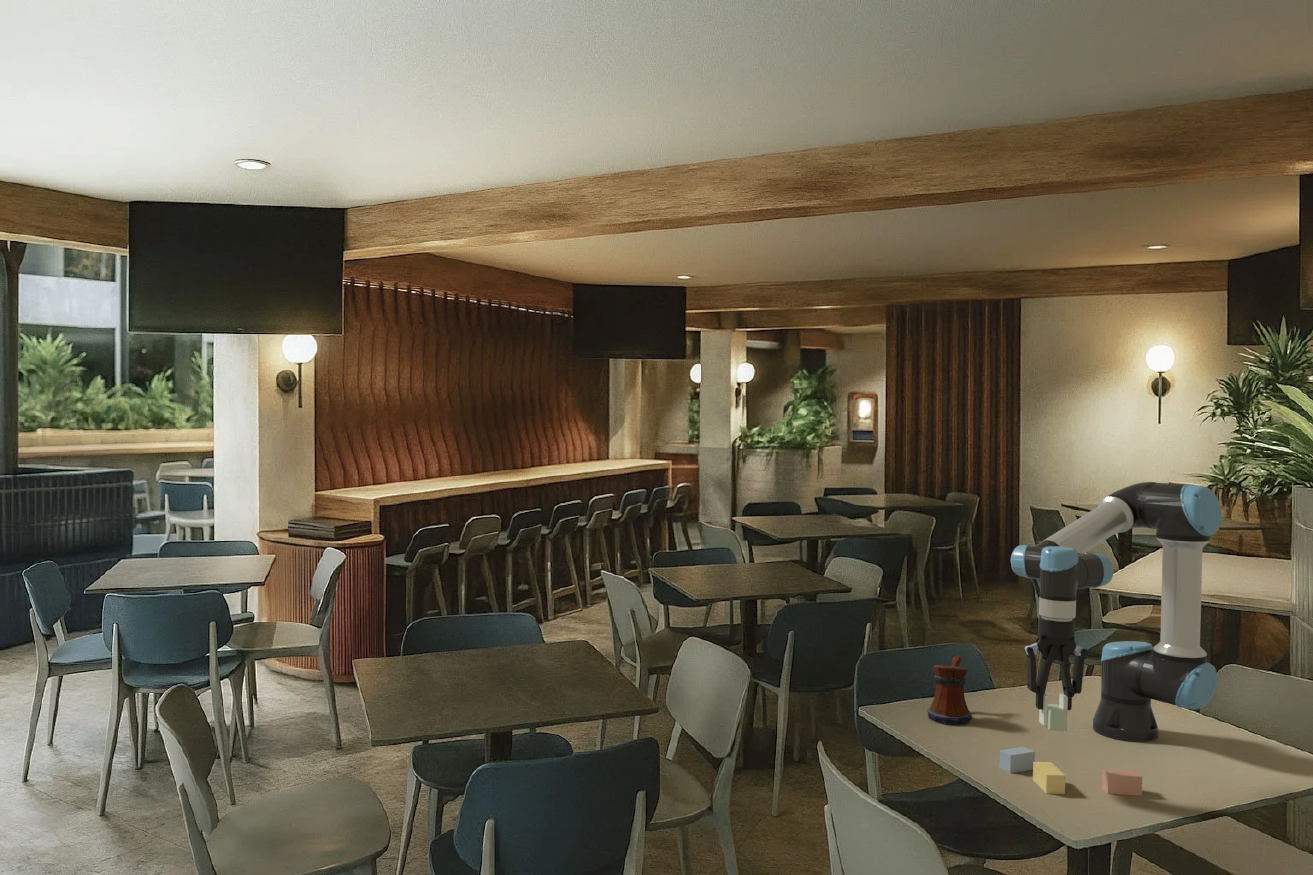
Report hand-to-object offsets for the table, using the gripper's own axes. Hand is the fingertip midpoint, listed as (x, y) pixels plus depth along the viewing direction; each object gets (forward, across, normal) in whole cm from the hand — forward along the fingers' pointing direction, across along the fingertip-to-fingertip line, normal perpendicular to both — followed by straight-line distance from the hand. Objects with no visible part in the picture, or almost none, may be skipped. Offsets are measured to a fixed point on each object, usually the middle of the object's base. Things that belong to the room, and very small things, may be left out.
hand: (1052, 723), depth 219 cm
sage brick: (0, 0, 0) cm, 1 cm away
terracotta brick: (+14, -14, +3) cm, 20 cm away
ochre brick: (+14, +1, 0) cm, 14 cm away
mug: (+13, +8, -49) cm, 52 cm away
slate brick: (+14, +4, -10) cm, 18 cm away
